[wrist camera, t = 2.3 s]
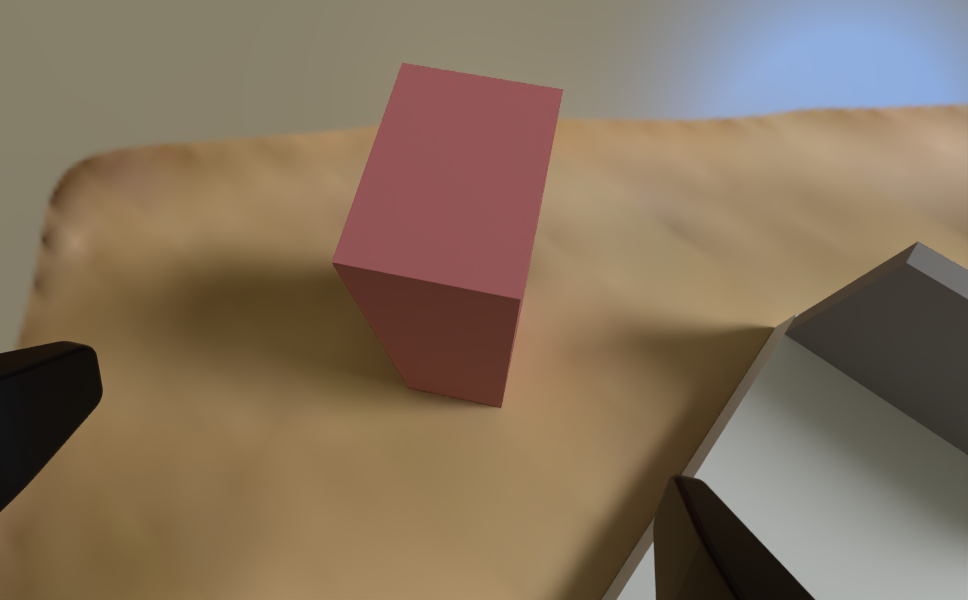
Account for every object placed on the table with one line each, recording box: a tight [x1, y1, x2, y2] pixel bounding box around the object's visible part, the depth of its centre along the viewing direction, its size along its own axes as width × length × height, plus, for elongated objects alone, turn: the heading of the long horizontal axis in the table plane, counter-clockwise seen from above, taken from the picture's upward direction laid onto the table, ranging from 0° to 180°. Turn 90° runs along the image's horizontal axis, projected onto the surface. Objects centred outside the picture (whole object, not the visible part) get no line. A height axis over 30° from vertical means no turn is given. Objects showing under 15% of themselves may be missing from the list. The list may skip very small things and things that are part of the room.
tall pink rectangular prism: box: [332, 63, 563, 408], centre depth 16 cm, size 5×4×11 cm
